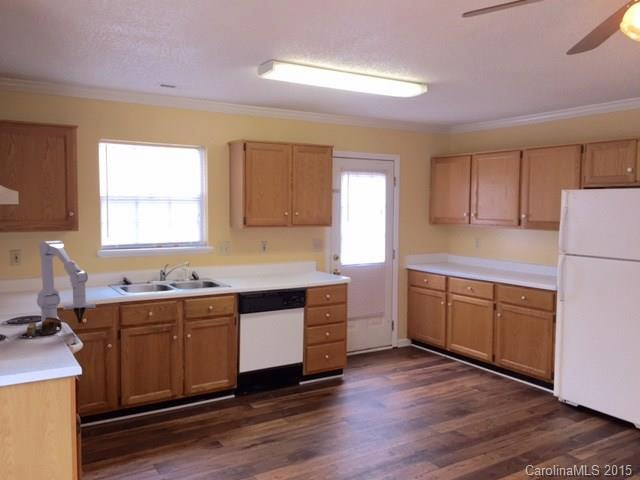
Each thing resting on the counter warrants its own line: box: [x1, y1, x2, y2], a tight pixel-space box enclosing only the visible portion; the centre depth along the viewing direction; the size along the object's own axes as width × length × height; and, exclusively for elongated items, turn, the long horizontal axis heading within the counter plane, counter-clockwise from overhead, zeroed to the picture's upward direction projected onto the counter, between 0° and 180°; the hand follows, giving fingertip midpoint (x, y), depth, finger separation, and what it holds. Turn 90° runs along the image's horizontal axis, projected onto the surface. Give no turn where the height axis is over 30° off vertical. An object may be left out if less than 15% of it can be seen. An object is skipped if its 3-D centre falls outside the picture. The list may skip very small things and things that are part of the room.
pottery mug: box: [39, 317, 63, 335], centre depth 262 cm, size 12×10×8 cm
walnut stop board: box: [26, 322, 37, 337], centre depth 259 cm, size 12×2×4 cm, turn 22°
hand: (80, 322), depth 266 cm, fingers closed
